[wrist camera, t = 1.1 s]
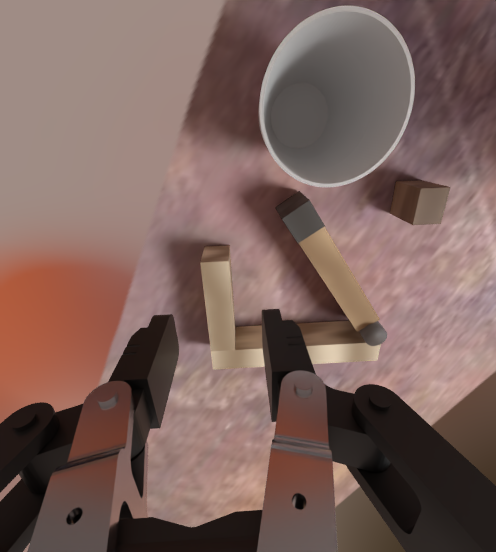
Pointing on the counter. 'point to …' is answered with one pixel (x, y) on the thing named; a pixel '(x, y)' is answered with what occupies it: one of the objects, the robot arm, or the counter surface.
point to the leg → (331, 266)
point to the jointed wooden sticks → (318, 336)
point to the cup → (336, 96)
